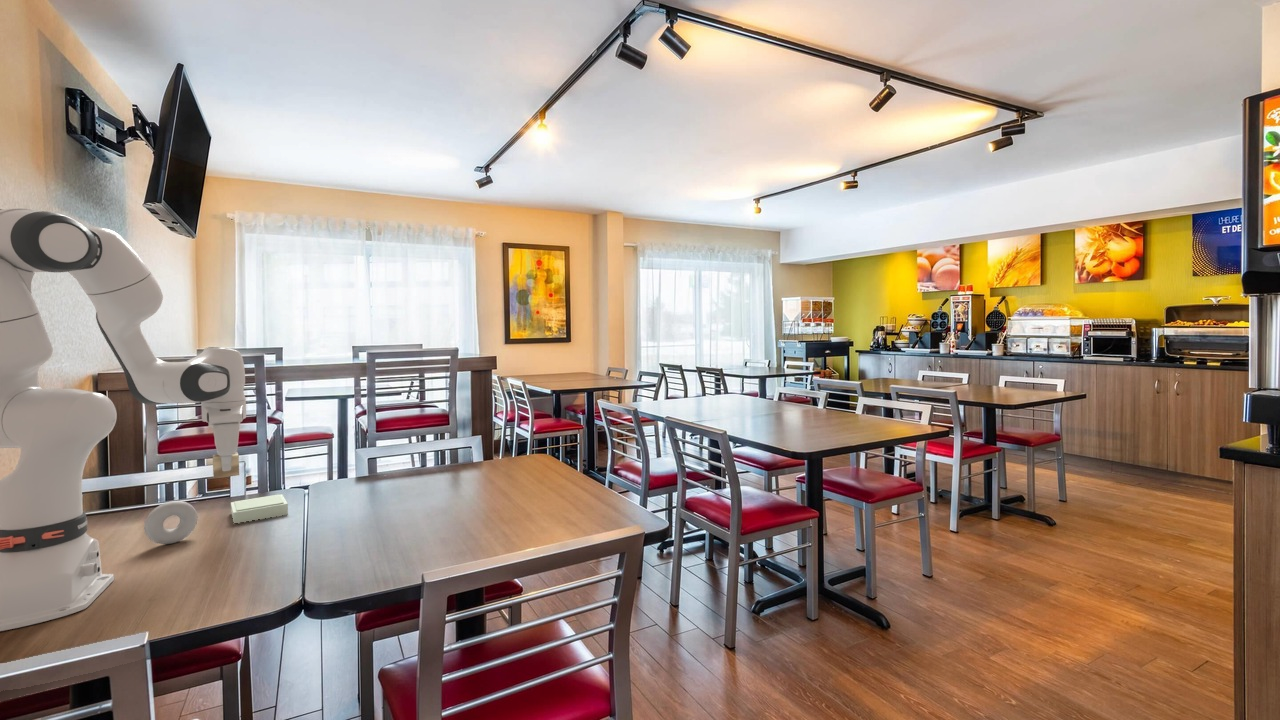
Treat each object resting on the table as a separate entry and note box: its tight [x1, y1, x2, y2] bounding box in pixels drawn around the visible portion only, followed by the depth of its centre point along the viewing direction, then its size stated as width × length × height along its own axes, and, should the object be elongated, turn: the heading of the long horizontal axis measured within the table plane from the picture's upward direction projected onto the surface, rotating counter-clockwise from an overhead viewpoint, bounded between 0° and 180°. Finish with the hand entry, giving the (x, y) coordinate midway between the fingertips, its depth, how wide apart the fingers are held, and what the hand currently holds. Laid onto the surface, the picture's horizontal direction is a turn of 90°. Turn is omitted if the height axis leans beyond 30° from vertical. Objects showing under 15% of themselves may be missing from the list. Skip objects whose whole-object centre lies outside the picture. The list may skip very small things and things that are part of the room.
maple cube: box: [212, 451, 240, 479], centre depth 138 cm, size 5×5×5 cm
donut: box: [143, 500, 199, 545], centre depth 132 cm, size 10×4×10 cm, turn 147°
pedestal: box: [230, 493, 289, 524], centre depth 153 cm, size 12×12×3 cm
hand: (225, 468), depth 138 cm, fingers closed on maple cube, 5 cm apart
